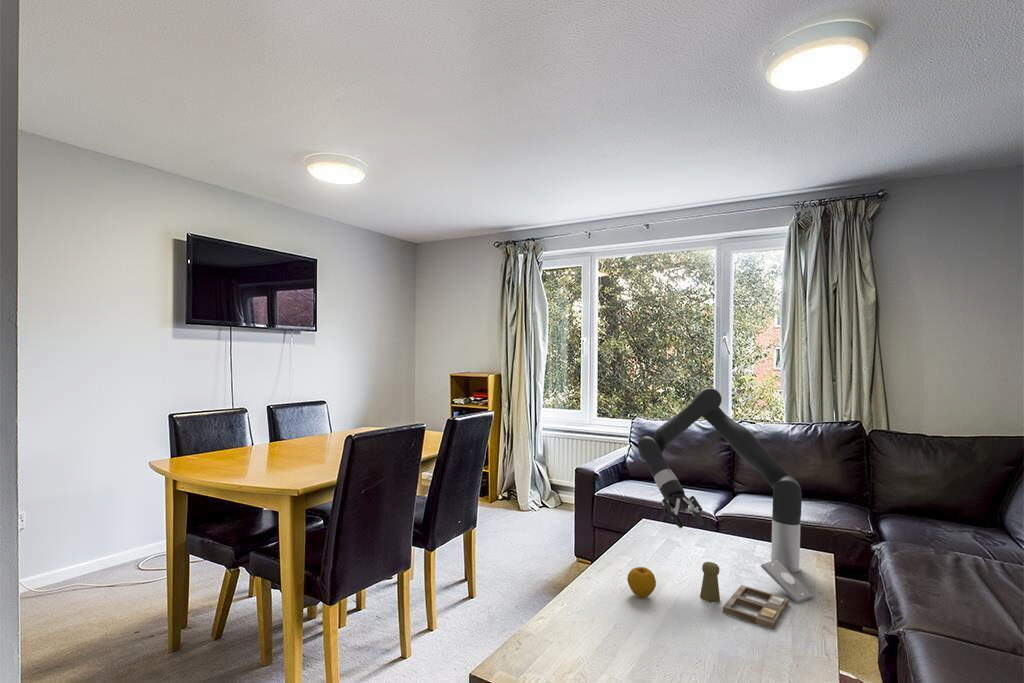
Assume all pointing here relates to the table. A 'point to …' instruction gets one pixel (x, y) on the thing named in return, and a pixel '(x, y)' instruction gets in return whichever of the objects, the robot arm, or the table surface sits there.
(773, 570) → the light switch
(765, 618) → the wooden frame
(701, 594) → the olive pawn figure
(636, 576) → the apple
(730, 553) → the table surface
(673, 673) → the table surface
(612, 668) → the table surface
